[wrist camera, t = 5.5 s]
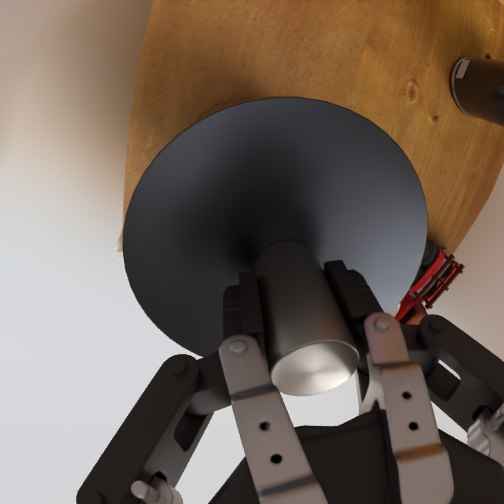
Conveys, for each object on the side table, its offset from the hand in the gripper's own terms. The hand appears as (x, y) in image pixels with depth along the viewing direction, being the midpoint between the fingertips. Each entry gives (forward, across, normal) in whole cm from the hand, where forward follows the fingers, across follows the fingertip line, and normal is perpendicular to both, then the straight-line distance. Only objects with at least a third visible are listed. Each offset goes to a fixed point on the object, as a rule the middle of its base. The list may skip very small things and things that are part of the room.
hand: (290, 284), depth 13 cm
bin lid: (+2, 0, 0) cm, 2 cm away
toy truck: (+26, -25, +24) cm, 43 cm away
